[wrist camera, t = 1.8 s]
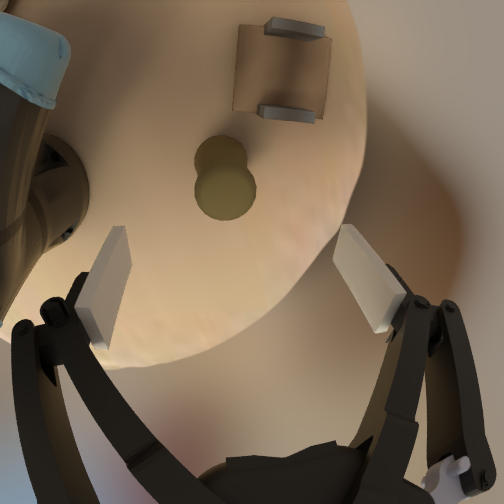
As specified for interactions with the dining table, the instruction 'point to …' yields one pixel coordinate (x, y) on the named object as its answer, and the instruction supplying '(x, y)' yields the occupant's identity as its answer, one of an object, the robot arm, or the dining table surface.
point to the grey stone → (3, 4)
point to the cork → (223, 179)
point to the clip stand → (282, 70)
